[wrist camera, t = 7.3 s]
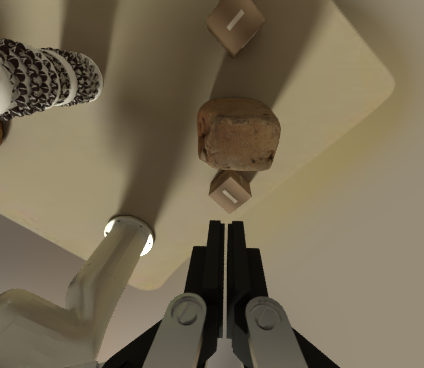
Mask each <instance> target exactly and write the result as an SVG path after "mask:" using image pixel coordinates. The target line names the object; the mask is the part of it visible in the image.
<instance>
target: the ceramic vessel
mask: <svg viewBox="0 0 424 368" xmlns="http://www.w3.org/2000/svg"><path fill="white" fill-rule="evenodd" d="M2 136H3V128H2V123H1V120H0V145H1V143H2Z"/></svg>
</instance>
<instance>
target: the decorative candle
mask: <svg viewBox="0 0 424 368" xmlns="http://www.w3.org/2000/svg"><path fill="white" fill-rule="evenodd" d="M102 89H103V77H102V74H101V72H100V70H99V67H98V66H97V65H96V64H95V63H94V61H93V60H92V59H91V58H89V57H87V56H86V55H84V54H82V53H75V52H72V51H69V53H68V52H67V50H63V51H61V50H59V49H53V48H41V49H37V48H33V47H32V46H30V45H26V44H22V43H20V42H14V41H12V40H9V39H2V40H0V120H2V121H8V120H10V119H12V118H14V117H15V116H19V117H21V116H24V115H31V114H32V113H35V112H36V111H40V112H41V111H44V110H46V109H49V108H52V107H53V106H65V105H66V106H71V105H76V104H83V103H88V102H91V101H94V100H96V99H97V98H98V97H99V96H100V95H101V92H102Z"/></svg>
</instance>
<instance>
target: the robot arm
mask: <svg viewBox="0 0 424 368" xmlns="http://www.w3.org/2000/svg"><path fill="white" fill-rule="evenodd" d="M224 231H225V224H221V221H216V220H210V224H209V232H208V240H207V246H194V247H193V250H192V255H191V260H190V265H189V270H188V275H187V280H186V286H185V290H184V293H183V294H180V295H178V296H176V297H175V298H174V299H173V300H172V301H171V302H170V304H169V306H168V308H167V310H166V313H165V315H164V318H163V319H162V320H160V321H159V322H158V323H156V324H155V325H154V326H152V327H151V328H150V329H148V330H147V331H146V332H144V333H143V334H142V335H140V336H139V337H138V338H136V339H135V340H134V341H132V342H131V343H129V344H128V345H127V346H126V347H124V348H123V349H121V350H120V351H119V352H117V353H116V354H115V355H113V356H112V357H111V358H110V359H109V360H108V361H107V362H104V363H99V364H98V362H97V361H96V359H97V356H98V354H99V350H100V347H101V344H102V340H103V337H104V334H105V331H106V329H107V326H108V323H109V321H110V319H111V316H112V314H113V311H114V309H115V307H116V305H117V303H118V301H119V299H120V297H121V295H122V293H123V291H124V289H125V287H126V285H127V283H128V281H129V279H130V277H131V275H132V273H133V270H134V268H135V266H136V264H137V262H138V260H139V258H140V256H142V255H144V254H146V253H147V252H148V251H149V250H150V249H151V247H152V245H153V243H154V236H153V233H152V231H151V229H150V228H149V227H148V225H147V224H145V223H144V222H143V221H141V220H140V219H137V218H135V217H131V216H118V217H115V218H113V219H112V220H110V221H109V222H108V224H107V225H106V227H105V230H104V236H105V238H104V239H103V241H102V242H101V243H100V245H99V246H98V247H97V248H96V250H95V251H94V252H93V254H92V255H91V256H90V258H89V259H88V260H87V261H86V263H85V264H84V265H83V267H82V268H81V269H80V271H79V272H78V273H77V274H76V276H75V277H74V278H73V280H72V281H71V283H70V284H69V286H68V289H67V292H66V297H65V308H61V307H59V306H58V305H55V304H53V303H51V302H50V301H48V300H45V299H44V298H42V297H40V296H37V295H35V294H33V293H31V292H28V291H26V290H23V289H11V290H8V291H6V292H4V293H2V294H0V368H207V363H208V359H209V358H210V357H211V356H212V355H213V354H214V353H215V352H216V348H217V338H222V336H223V335H222V334H223V289H224V287H223V286H224ZM227 338H229V339H232V348H233V353H234V354H235V355H236V356H237V357H238V358H239V359H240V361H241V367H242V368H340V367H339V366H338V365H336V364H335V363H334V362H333V361H332V360H330V359H329V358H328V357H327V356H326V355H324V354H323V353H322V352H321V351H320V350H318V349H317V348H316V347H315V346H314V345H313V344H311V343H310V342H309V341H308V340H306V339H305V338H304V337H303V336H302V335H300V334H299V333H298V332H297V331H296V330H295V329H293V328H292V327H291V325H290V322H289V320H288V317H287V315H286V313H285V311H284V309H283V307H282V306H281V305H280V304H279V303H278V302H277V301H275V300H273V299H272V298H269V297H268V293H267V288H266V281H265V276H264V271H263V266H262V260H261V255H260V250H259V249H258V248H246V243H245V234H244V226H243V221H232V224H228V243H227Z"/></svg>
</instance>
